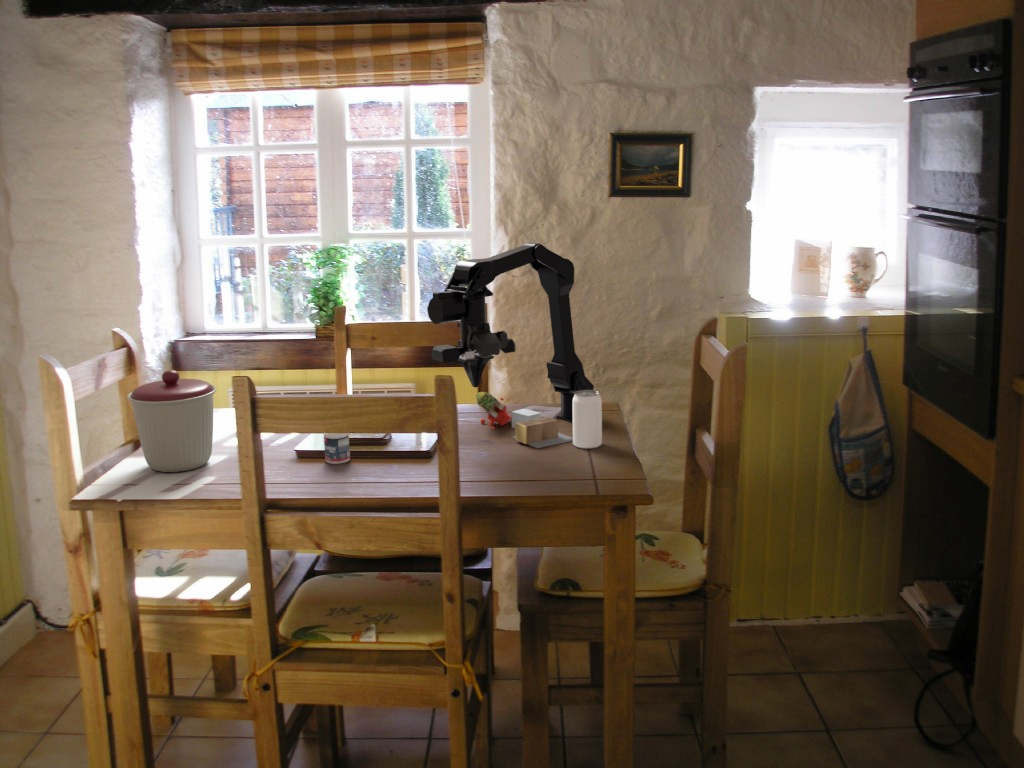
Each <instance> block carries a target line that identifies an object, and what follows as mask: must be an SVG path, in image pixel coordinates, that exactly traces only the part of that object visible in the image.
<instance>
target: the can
mask: <svg viewBox="0 0 1024 768" xmlns="http://www.w3.org/2000/svg"><path fill="white" fill-rule="evenodd" d="M574 394H575V395H574V397H573V401H572V414H573V421H572V438H573V441H572V444H573V446H574V447H575V448H578V449H582V450H591V449H597V448H600V447H601V446H602V444H603V407H602V406H603V405H602V404H603V403H602V402H603V401H602V398H601V395H600V394H601V393H600V391H598V390H594V389H593V390H580V391H576V392H575V393H574ZM599 446H600V447H599Z"/></svg>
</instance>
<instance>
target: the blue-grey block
mask: <svg viewBox="0 0 1024 768" xmlns="http://www.w3.org/2000/svg"><path fill="white" fill-rule="evenodd" d="M511 417H512V419H511V428H513V429H515V423H518V422H523V421H528V420H533V419H538V418H542V412H539V411H535V410H531V409H529V408H528V409H527V408H520V409H516V410H513V411H511Z"/></svg>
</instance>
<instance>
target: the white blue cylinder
mask: <svg viewBox="0 0 1024 768" xmlns="http://www.w3.org/2000/svg"><path fill="white" fill-rule="evenodd" d="M323 443H324V456H325V457H324V458H325V463H327V464H332V465H337V464H338V465H341V464H345V463H349V461H351V460H350V459H351V450H350V433H348V434H324V433H323Z"/></svg>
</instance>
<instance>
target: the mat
mask: <svg viewBox="0 0 1024 768" xmlns="http://www.w3.org/2000/svg"><path fill="white" fill-rule="evenodd" d="M512 439H513V440H515V435H513V436H512ZM569 442H573V437H571V436H569V435H566V434H563V433H560V432H558V437H557V438H552V439H547V440H542V441H538V442H533V443H528V444H527V445H528V446H529V447H534V448H535V449H540V448H545V447H550V446H555V445H559V444H563V443H569Z"/></svg>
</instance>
